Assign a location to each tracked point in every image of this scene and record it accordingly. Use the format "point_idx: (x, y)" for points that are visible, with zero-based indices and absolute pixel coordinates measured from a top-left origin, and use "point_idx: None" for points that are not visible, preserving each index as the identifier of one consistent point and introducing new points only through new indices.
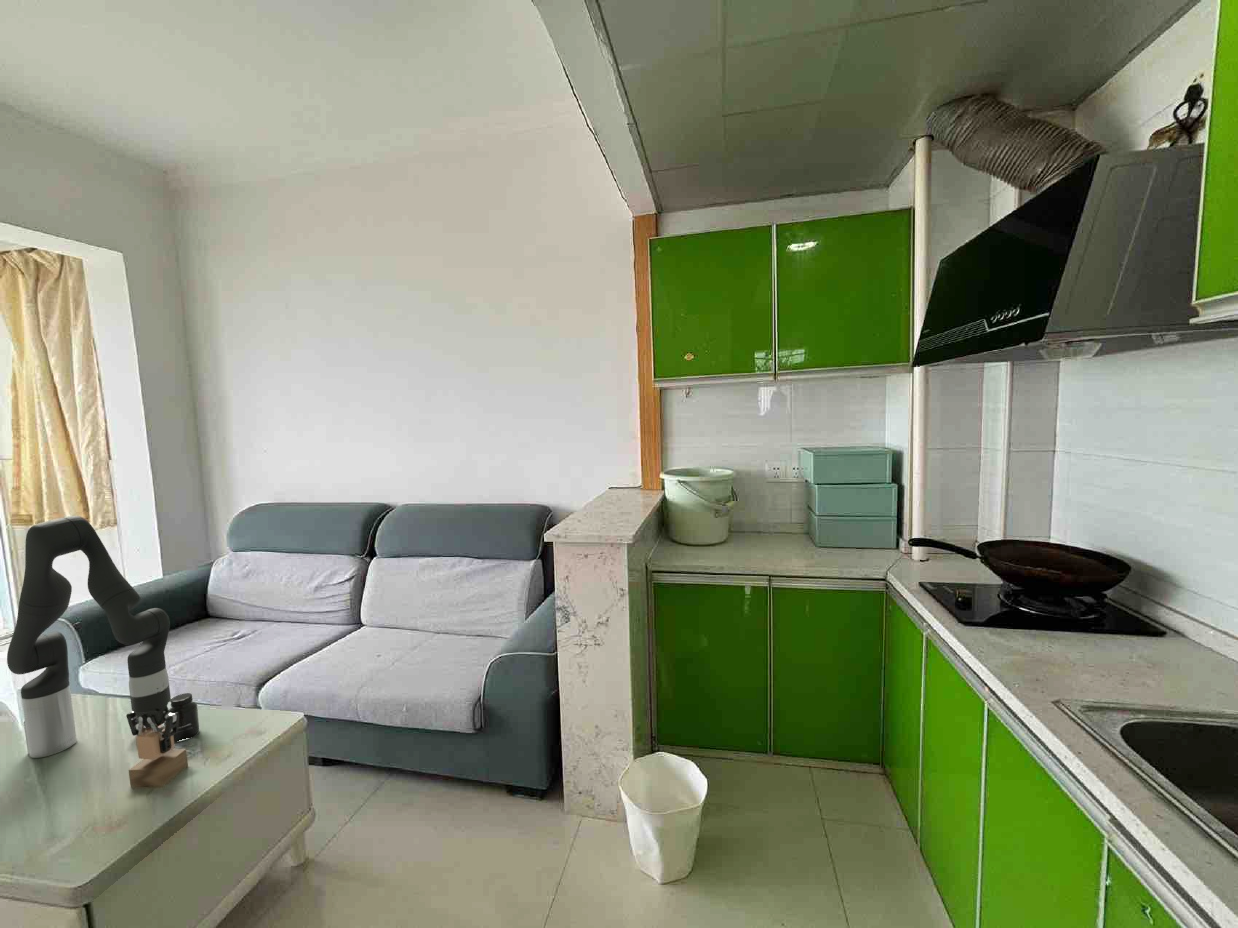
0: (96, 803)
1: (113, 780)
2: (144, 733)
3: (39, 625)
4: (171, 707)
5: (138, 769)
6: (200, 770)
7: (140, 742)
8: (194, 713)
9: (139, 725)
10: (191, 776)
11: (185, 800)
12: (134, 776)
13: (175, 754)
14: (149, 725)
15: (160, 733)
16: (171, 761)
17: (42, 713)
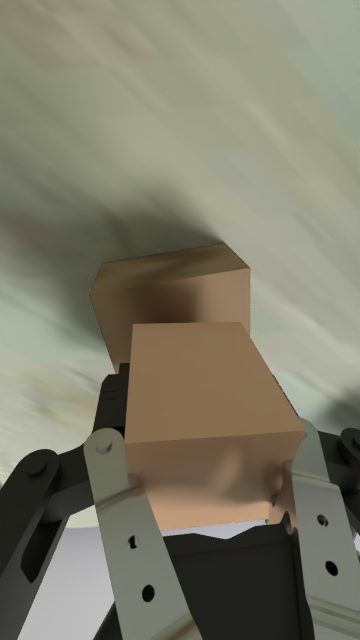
0: (282, 137)
1: (326, 267)
2: (263, 459)
3: None
4: (353, 537)
5: (202, 277)
6: (58, 350)
7: (248, 390)
8: (265, 519)
9: (338, 547)
10: (53, 323)
11: None
12: (215, 260)
13: None
14: (230, 560)
15: (94, 487)
16: (107, 345)
17: None
